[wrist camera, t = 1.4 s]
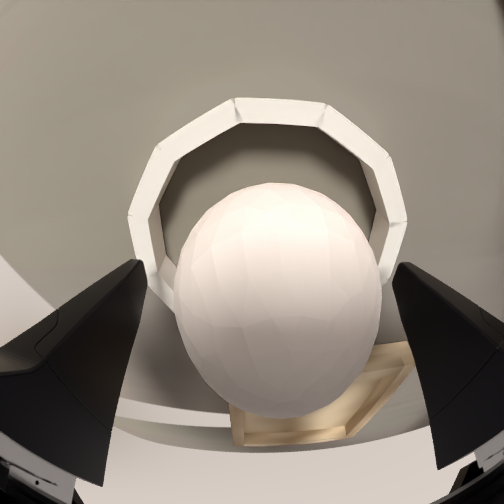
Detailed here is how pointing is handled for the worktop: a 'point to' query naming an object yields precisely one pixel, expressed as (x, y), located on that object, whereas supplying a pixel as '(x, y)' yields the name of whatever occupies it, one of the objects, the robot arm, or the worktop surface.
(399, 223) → the white faceted hoop
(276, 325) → the egg
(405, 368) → the tray
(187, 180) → the worktop surface
